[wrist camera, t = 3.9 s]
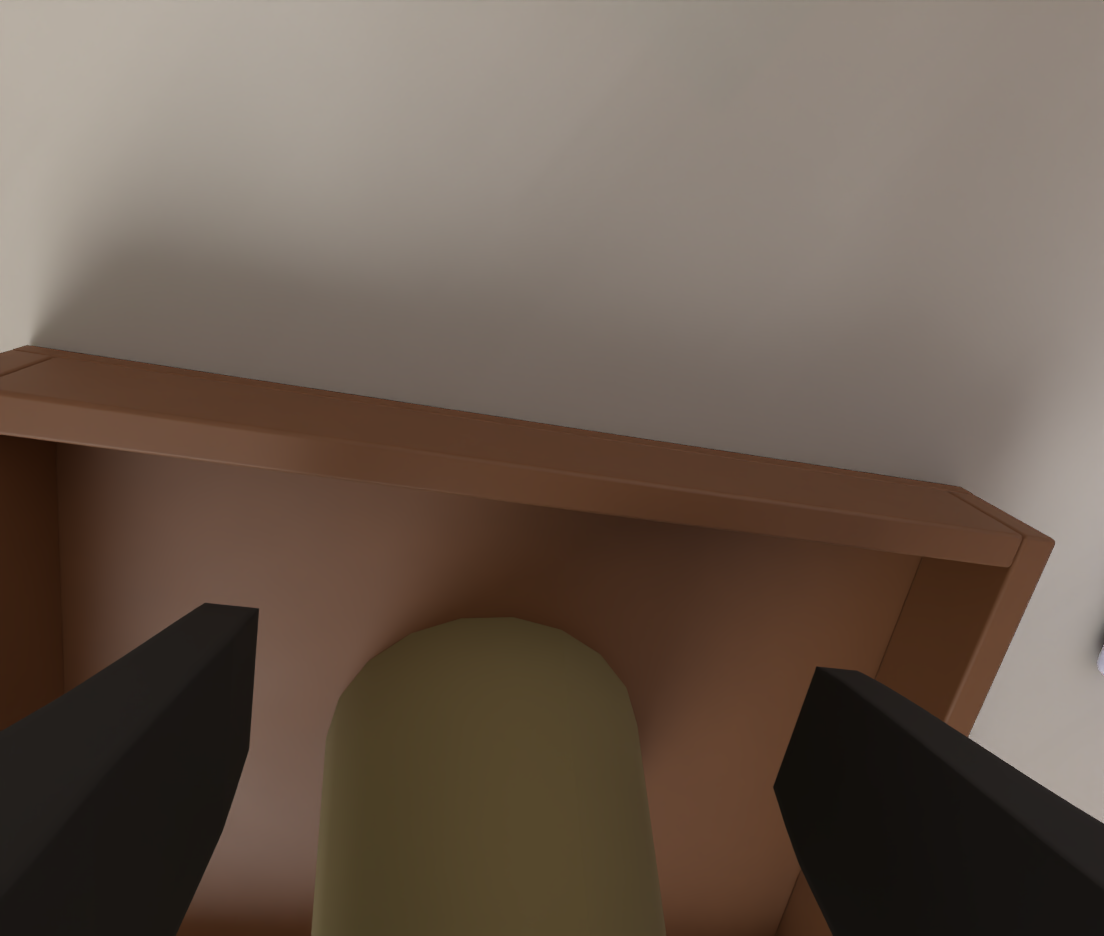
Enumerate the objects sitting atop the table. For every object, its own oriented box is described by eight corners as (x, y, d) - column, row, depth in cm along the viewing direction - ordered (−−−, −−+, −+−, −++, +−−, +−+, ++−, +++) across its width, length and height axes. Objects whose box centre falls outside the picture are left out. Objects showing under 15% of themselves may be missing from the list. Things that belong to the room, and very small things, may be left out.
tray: (961, 486, 14) (1058, 540, 11) (767, 978, 18) (811, 1089, 15) (25, 344, 11) (-89, 378, 9) (53, 963, 15) (-19, 1095, 13)
